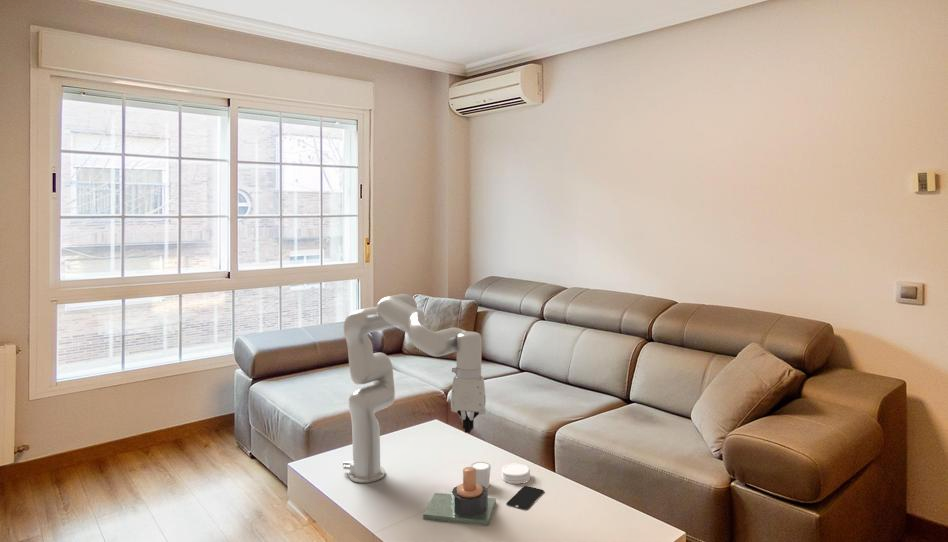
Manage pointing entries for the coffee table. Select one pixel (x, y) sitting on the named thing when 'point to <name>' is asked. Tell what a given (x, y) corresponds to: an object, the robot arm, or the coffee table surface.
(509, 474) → the white short cylinder
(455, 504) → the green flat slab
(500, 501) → the coffee table surface
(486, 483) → the white grey cylinder
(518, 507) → the smartphone
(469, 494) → the cap
